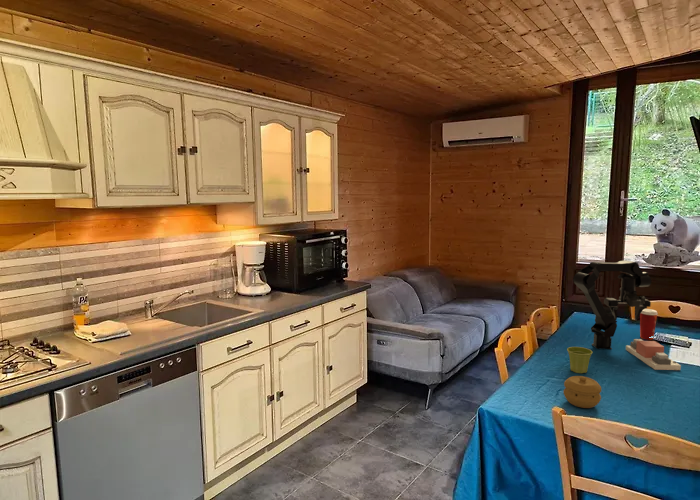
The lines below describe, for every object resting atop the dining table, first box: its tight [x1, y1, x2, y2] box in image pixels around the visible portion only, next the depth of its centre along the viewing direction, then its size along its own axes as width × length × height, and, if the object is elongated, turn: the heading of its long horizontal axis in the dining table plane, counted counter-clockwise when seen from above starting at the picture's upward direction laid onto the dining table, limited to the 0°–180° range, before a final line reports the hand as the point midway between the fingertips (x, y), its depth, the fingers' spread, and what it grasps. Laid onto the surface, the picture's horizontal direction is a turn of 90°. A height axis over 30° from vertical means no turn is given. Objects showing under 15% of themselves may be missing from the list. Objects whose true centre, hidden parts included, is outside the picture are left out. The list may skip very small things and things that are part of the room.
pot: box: [562, 375, 602, 409], centre depth 166 cm, size 12×12×10 cm
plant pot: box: [566, 346, 593, 374], centre depth 195 cm, size 9×9×9 cm
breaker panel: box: [625, 341, 682, 371], centre depth 208 cm, size 10×24×4 cm, turn 176°
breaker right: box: [655, 352, 669, 359], centre depth 199 cm, size 3×3×2 cm
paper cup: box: [639, 308, 658, 341], centre depth 236 cm, size 8×8×14 cm
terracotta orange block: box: [636, 340, 665, 358], centre depth 208 cm, size 7×7×5 cm
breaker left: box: [632, 338, 644, 345], centre depth 217 cm, size 3×3×2 cm
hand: (625, 320), depth 226 cm, fingers open, 9 cm apart
